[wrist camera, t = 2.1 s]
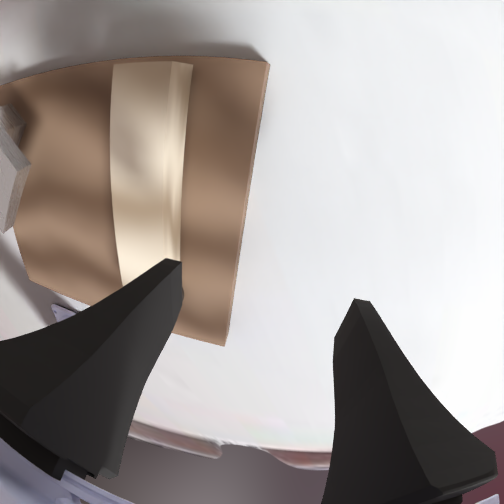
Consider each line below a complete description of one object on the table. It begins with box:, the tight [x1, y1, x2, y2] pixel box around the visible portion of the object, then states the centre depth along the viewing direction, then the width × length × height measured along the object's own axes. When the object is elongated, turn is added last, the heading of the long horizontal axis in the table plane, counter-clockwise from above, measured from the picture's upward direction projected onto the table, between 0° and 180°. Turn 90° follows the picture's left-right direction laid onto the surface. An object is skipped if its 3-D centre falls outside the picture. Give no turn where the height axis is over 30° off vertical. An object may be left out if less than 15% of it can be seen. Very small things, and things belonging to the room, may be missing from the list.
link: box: [110, 61, 193, 302], centre depth 14 cm, size 16×4×4 cm, turn 172°
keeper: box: [0, 103, 31, 233], centre depth 13 cm, size 8×6×5 cm
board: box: [0, 56, 270, 346], centre depth 18 cm, size 20×22×2 cm
